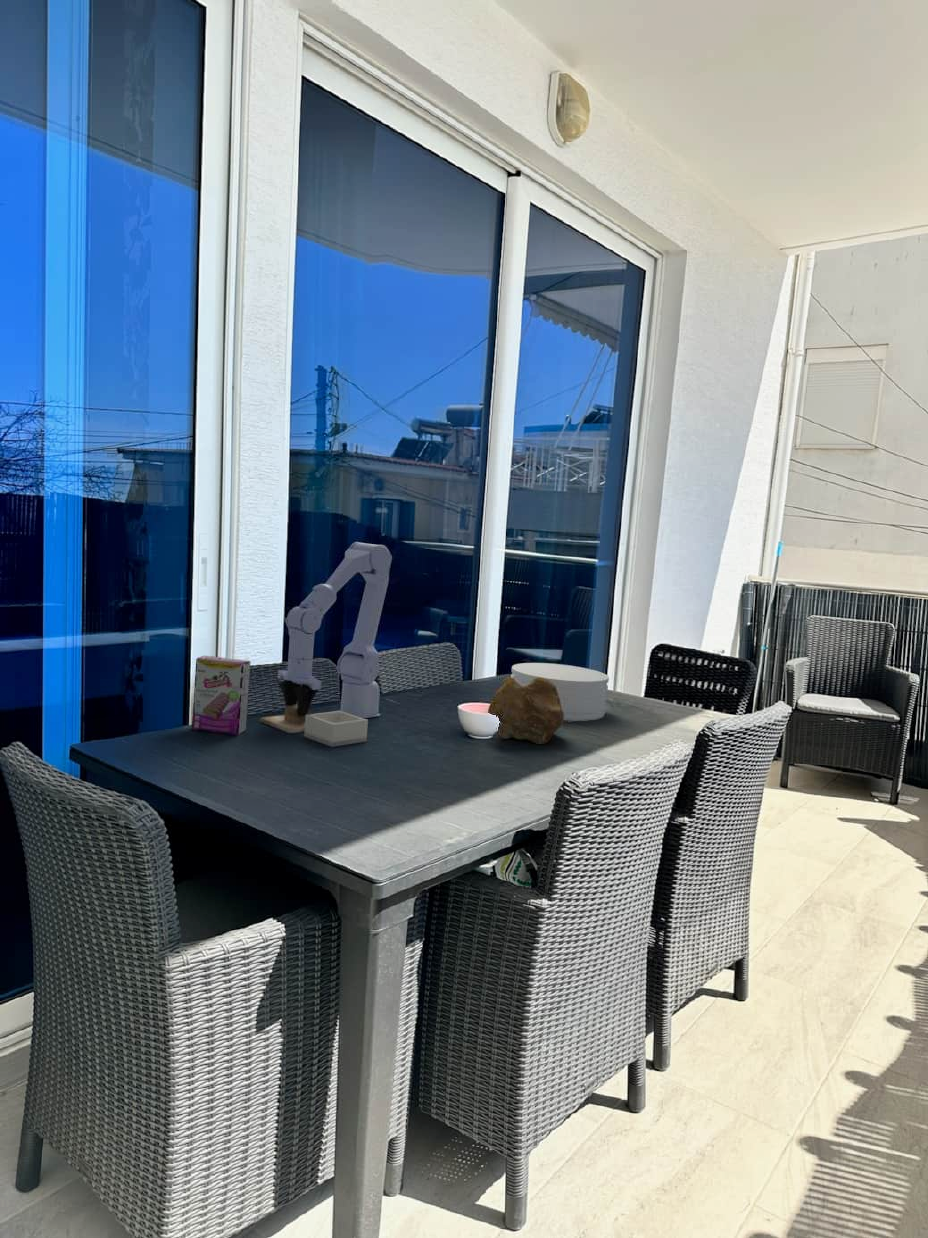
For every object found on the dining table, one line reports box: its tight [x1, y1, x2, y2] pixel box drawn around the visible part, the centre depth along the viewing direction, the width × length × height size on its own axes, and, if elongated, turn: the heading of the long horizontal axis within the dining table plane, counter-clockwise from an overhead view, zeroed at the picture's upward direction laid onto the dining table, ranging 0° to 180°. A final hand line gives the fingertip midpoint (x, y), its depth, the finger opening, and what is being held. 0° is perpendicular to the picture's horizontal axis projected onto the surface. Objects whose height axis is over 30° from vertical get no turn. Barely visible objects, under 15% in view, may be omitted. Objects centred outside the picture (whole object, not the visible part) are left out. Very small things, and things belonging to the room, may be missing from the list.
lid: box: [259, 703, 310, 734], centre depth 210 cm, size 12×12×4 cm
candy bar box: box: [191, 655, 251, 736], centre depth 198 cm, size 11×5×16 cm, turn 84°
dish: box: [303, 710, 369, 748], centre depth 200 cm, size 10×10×5 cm
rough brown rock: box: [487, 676, 564, 745], centre depth 217 cm, size 23×17×15 cm
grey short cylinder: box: [510, 662, 610, 720], centre depth 255 cm, size 28×28×12 cm
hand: (296, 713), depth 210 cm, fingers closed on lid, 4 cm apart
